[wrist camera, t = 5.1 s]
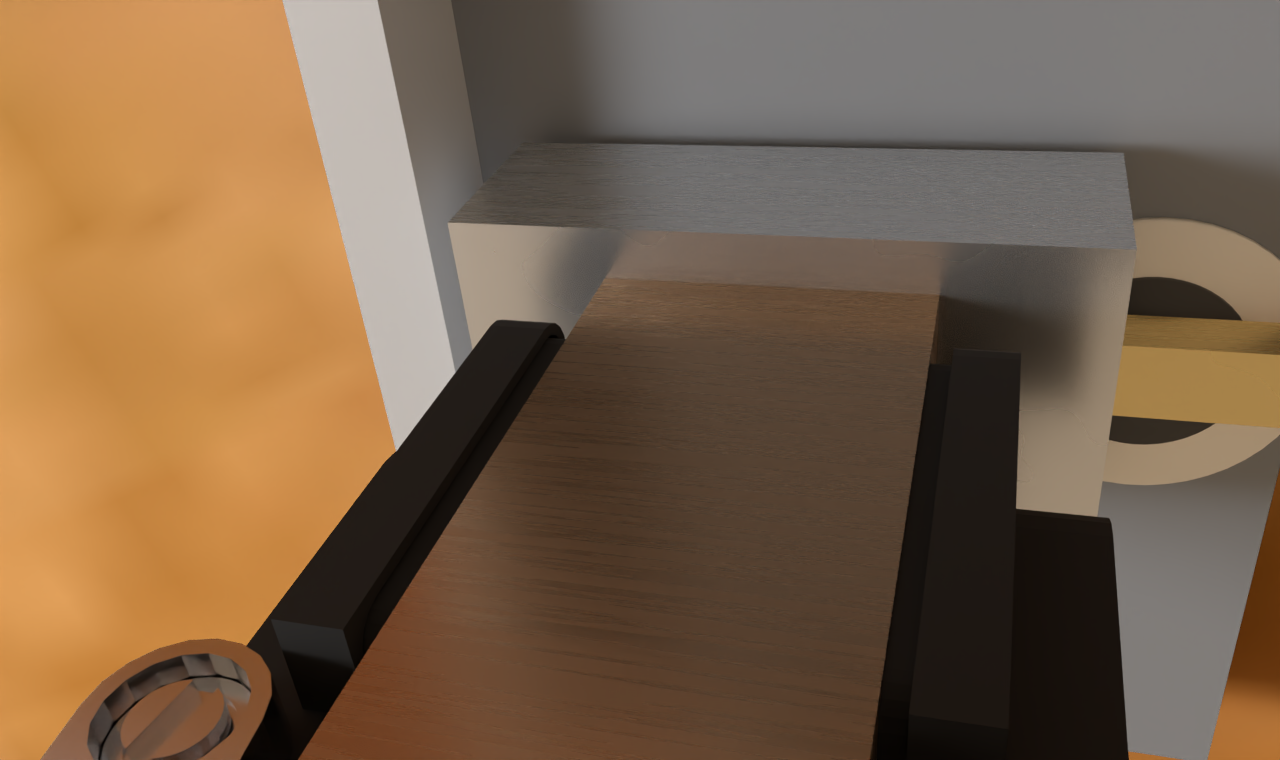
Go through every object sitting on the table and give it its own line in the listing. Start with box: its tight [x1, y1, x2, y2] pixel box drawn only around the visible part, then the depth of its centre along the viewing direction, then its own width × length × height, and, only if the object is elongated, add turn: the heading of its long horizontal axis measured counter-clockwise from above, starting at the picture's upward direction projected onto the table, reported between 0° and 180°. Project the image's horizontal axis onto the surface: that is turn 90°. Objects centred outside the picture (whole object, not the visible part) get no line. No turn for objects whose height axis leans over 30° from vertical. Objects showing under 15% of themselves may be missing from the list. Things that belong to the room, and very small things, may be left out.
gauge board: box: [283, 0, 1280, 760], centre depth 11 cm, size 18×10×6 cm, turn 6°
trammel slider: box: [298, 142, 1280, 760], centre depth 9 cm, size 4×9×8 cm, turn 96°
